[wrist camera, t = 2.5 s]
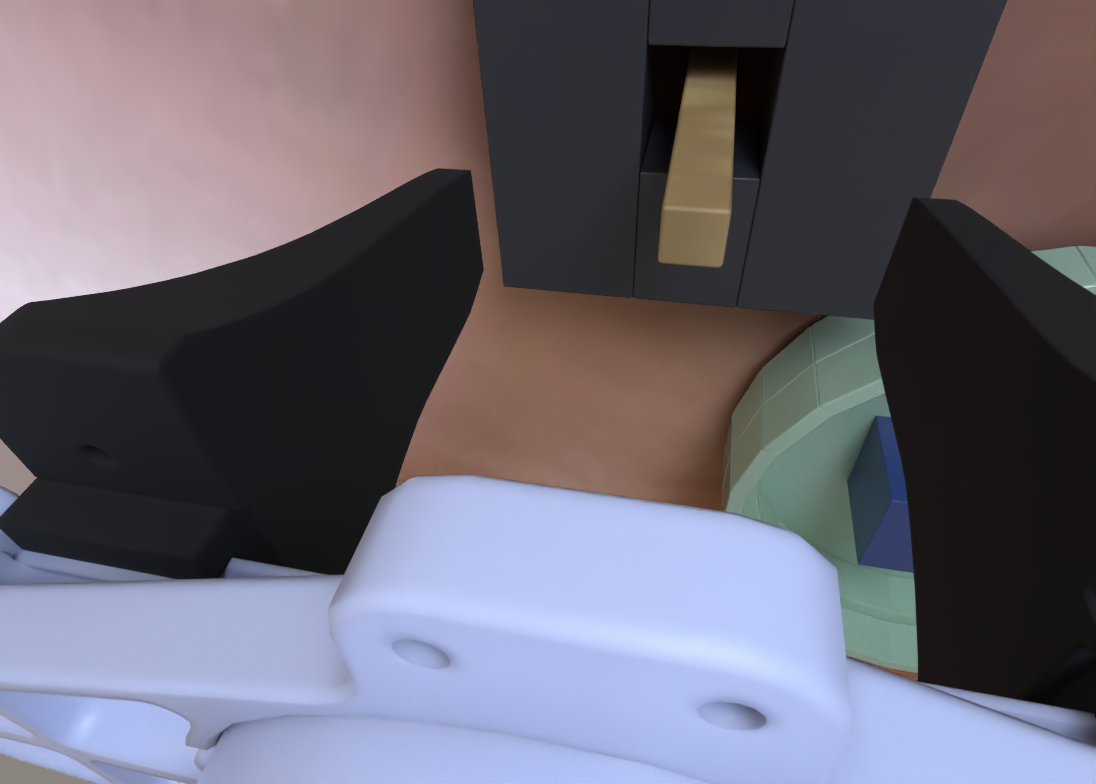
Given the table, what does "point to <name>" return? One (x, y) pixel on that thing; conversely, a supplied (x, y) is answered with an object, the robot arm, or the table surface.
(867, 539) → the block
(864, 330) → the bowl
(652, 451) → the table surface
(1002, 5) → the stand
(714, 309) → the table surface
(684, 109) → the stick
